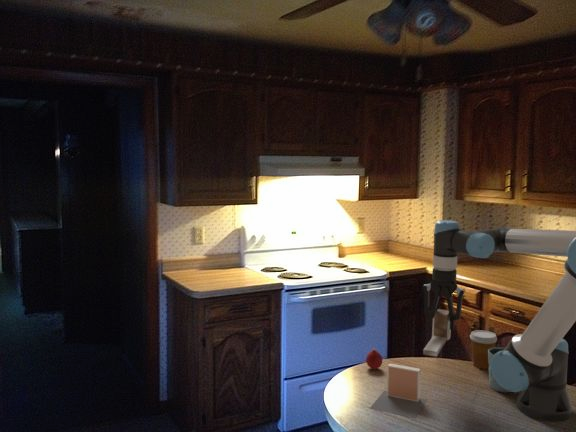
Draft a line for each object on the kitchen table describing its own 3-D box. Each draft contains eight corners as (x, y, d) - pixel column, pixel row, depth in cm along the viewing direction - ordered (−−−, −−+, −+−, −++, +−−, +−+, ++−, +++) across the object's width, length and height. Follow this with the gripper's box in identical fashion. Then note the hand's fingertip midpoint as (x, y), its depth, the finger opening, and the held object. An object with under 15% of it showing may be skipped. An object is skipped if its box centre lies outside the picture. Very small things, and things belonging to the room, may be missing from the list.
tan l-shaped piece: (448, 337, 184) (450, 310, 183) (436, 356, 167) (437, 327, 166) (436, 335, 186) (437, 309, 185) (423, 354, 169) (424, 325, 168)
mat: (426, 400, 175) (426, 399, 175) (415, 419, 163) (415, 418, 163) (384, 391, 182) (384, 390, 182) (369, 409, 169) (369, 408, 169)
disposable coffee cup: (469, 369, 200) (470, 337, 199) (467, 359, 209) (468, 329, 208) (497, 371, 198) (499, 339, 196) (494, 361, 207) (495, 330, 206)
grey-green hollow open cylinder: (481, 386, 186) (482, 351, 184) (496, 378, 192) (497, 344, 191) (510, 396, 178) (511, 360, 177) (524, 387, 185) (526, 352, 183)
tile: (419, 399, 175) (420, 368, 174) (418, 402, 173) (418, 371, 172) (389, 393, 180) (389, 363, 179) (387, 395, 178) (387, 365, 177)
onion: (383, 367, 202) (383, 346, 201) (381, 373, 196) (381, 352, 195) (367, 366, 203) (367, 345, 203) (364, 372, 198) (365, 350, 197)
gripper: (473, 268, 179) (469, 338, 182) (421, 262, 187) (418, 329, 190) (470, 273, 172) (465, 345, 176) (415, 267, 180) (412, 336, 183)
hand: (441, 337), depth 183 cm, fingers closed on tan l-shaped piece, 4 cm apart
